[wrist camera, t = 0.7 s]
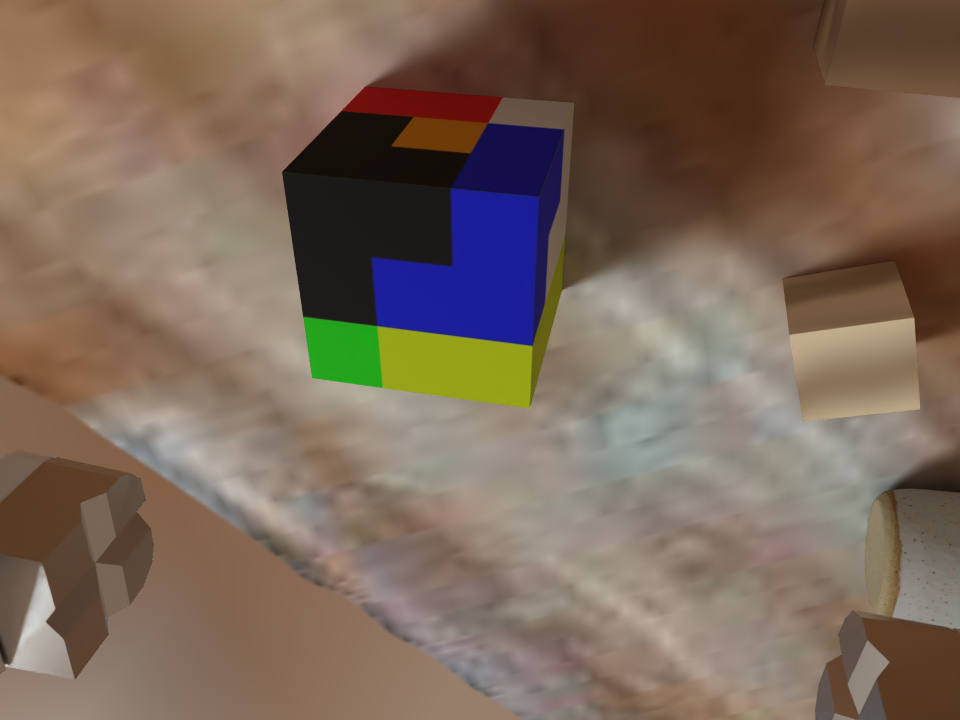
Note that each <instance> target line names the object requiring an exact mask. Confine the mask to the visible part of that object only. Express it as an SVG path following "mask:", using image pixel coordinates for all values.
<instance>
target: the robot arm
mask: <svg viewBox="0 0 960 720" xmlns="http://www.w3.org/2000/svg"><path fill="white" fill-rule="evenodd" d="M145 501H146V499H145V495H144V490H143V486H142V482H141V479H140V478H139V477H137V476H135V475H133V474H131V473H127V472H122V471H118V470H114V469H109V468H104V467H100V466H95V465H90V464H86V463H81V462H76V461H72V460H67V459H63V458H58V457H57V458H53V457H49V456H44V455H40V454H36V453H31V452H27V451H22V450H19V451H15V452H12V453H8V454H5V455H4V456H3V457H2V458H1V459H0V674H1V673H2V672H4V671H5V670H6V668H5V666H7V667H12V668H17V669H22V670H28V671H33V672H38V673H43V674H48V675H53V676H58V677H63V678H68V679H73V680H75V679H76V678H77V676H78V675H79V674H80V672H81V671H82V670H83V668H84V667H85V665H86V664H87V663H88V661H89V660H90V659H91V657H92V656H93V655H94V653H95V652H96V651H97V649H98V648H99V646H100V645H101V644H102V642H103V641H104V640H105V639H106V637H107V636H108V635H109V633H108V620H107V617H108V616H110V615H112V614H114V613H116V612H118V611H120V610H122V609H124V608H126V607H127V606H129V605H131V603H132V602H133V600H134V599H135V597H136V596H137V595H138V593H139V592H140V590H141V589H142V587H143V585H144V583H145V580H146V578H147V575H148V572H149V570H150V567H151V564H152V558H153V545H154V544H153V537H152V531H151V528H150V527H149V526H148V525H147V524H146V522H145V521H144V520H143V519H142V518H141V516H140V515H139V514H138V513H137V511H138V509H139V508H140V507H141V506H142V504H143V503H144V502H145ZM838 636H839V642H840V647H841V652H842V655H840V656H839V657H837V658H835V659H833V660H831V661H829V662H828V663H826V666H825V669H824V672H823V674H822V677H821V680H820V683H819V687H818V694H817V701H816V708H815V720H960V629H957V628H953V629H950V628H948V627H944V626H938V625H933V624H927V623H922V622H916V621H911V620H905V619H900V618H894V617H889V616H883V615H878V614H872V613H867V612H861V611H856V610H852V612H851V613H850V614H849V615H848V616H847V617H846V618H845V620H844V622H843V625H842V627H841V629H840V632H839V634H838Z"/></svg>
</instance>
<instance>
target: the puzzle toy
mask: <svg viewBox="0 0 960 720" xmlns="http://www.w3.org/2000/svg"><path fill="white" fill-rule="evenodd" d="M573 117H574V103H569V102H556V101H543V100H530V99H517V98H504V97H491V96H478V95H465V94H452V93H439V92H426V91H413V90H400V89H387V88H374V87H364V88H363V89H362V91H361V92H360V93H359V94H358V95H357V96H356V97H355V98H354V99H353V100H352V101H351V102H350V103H349V104H348V105H347V106H346V107H345V108H344V109H343V110H342V111H341V112H340V113H339V114H338V115H337V116H336V117H335V118H334V119H333V120H332V121H331V122H330V123H329V124H328V125H327V126H326V127H325V128H324V130H323V131H322V132H321V133H320V134H319V135H318V136H317V137H316V138H315V139H314V140H313V141H312V142H311V143H310V144H309V145H308V146H307V147H306V148H305V149H304V150H303V151H302V152H301V153H300V154H299V155H298V156H297V157H296V158H295V159H294V160H293V161H292V162H291V163H290V164H289V165H288V166H287V168H286V169H285V170H284V171H283V172H282V175H283V182H284V188H285V195H286V202H287V209H288V216H289V222H290V229H291V236H292V243H293V250H294V257H295V263H296V270H297V277H298V284H299V291H300V298H301V304H302V311H303V318H304V325H305V332H306V338H307V345H308V352H309V359H310V366H311V373H312V378H316V379H323V380H330V381H337V382H344V383H352V384H359V385H366V386H373V387H380V388H387V389H394V390H402V391H409V392H416V393H423V394H430V395H437V396H444V397H451V398H459V399H466V400H473V401H480V402H487V403H494V404H501V405H509V406H516V407H523V408H530V405H531V402H532V398H533V394H534V391H535V387H536V383H537V380H538V376H539V372H540V369H541V365H542V361H543V358H544V354H545V350H546V347H547V343H548V339H549V336H550V332H551V328H552V325H553V321H554V317H555V314H556V310H557V306H558V303H559V299H560V295H561V292H562V281H563V266H564V251H565V236H566V222H567V207H568V192H569V177H570V162H571V147H572V132H573Z"/></svg>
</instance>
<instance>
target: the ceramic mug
mask: <svg viewBox="0 0 960 720" xmlns="http://www.w3.org/2000/svg"><path fill="white" fill-rule="evenodd" d="M865 577H866V588H867V593H868V599H869V603H870V605H871V607H872V609H873V610H874V611H875V612H876V613H877V614H878V615H883V616H889V617H894V618H900V619H905V620H911V621H916V622H922V623H927V624H933V625H938V626H944V627H948V628H950V629H953V628H957V629H960V492H948V491H936V490H924V489H898V490H890V491H885V492H883V493H882V494H881V495H879V496H878V497H877V498H876V499H875V500H874V502H873V505H872V507H871V510H870V515H869V519H868V526H867V535H866V548H865Z"/></svg>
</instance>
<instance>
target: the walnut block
mask: <svg viewBox="0 0 960 720" xmlns="http://www.w3.org/2000/svg"><path fill="white" fill-rule="evenodd" d="M813 48H814V51H815V54H816V58H817V61H818V64H819V67H820V70H821V74H822V77H823V80H824V83H825V85H829V86H840V87H850V88H861V89H872V90H882V91H893V92H904V93H915V94H925V95H936V96H947V97H957V98H960V0H824V4H823V8H822V12H821V16H820V20H819V24H818V28H817V32H816V36H815V40H814V44H813Z"/></svg>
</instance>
